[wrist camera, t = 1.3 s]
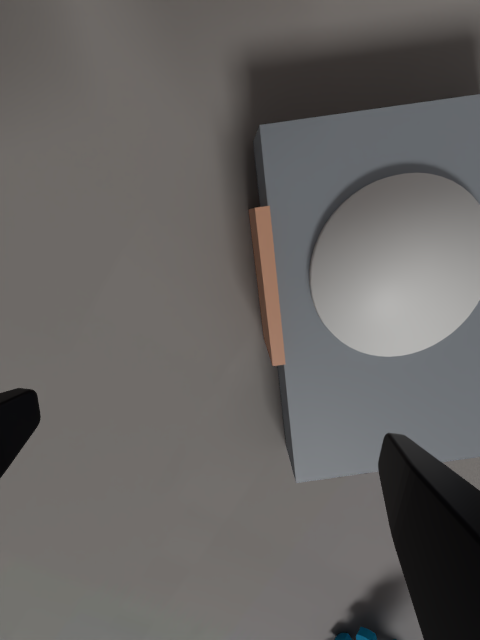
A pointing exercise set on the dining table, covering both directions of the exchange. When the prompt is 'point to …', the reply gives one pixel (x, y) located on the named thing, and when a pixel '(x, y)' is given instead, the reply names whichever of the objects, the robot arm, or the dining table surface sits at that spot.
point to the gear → (359, 635)
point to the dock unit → (372, 281)
